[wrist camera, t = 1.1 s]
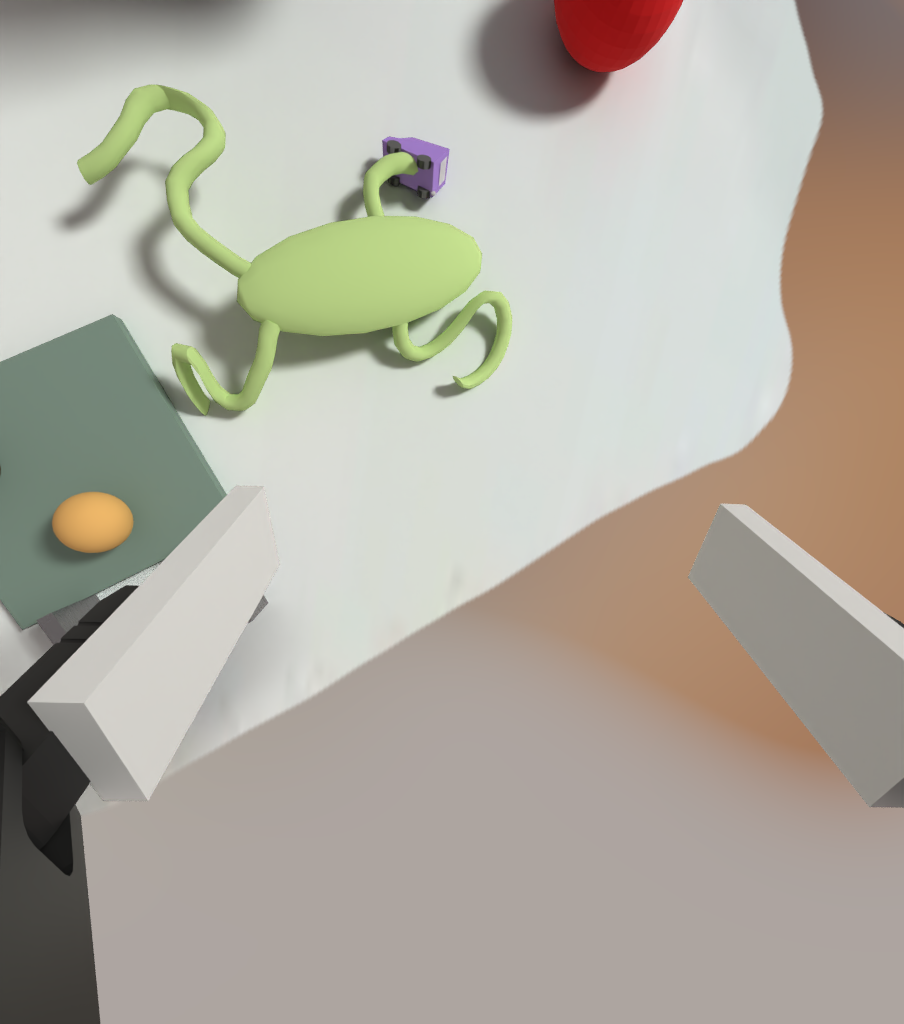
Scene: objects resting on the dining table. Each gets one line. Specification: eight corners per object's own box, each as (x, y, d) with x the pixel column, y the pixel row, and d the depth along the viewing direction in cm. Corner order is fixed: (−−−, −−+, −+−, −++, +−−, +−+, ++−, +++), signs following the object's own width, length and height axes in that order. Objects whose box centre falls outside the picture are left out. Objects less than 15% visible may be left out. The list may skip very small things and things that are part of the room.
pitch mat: (-114, 420, 27) (-133, 418, 26) (121, 319, 29) (112, 314, 28) (34, 624, 29) (22, 629, 28) (242, 520, 31) (237, 522, 30)
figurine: (109, 147, 28) (42, 67, 22) (487, 147, 32) (509, 80, 26) (163, 420, 30) (114, 409, 24) (511, 388, 34) (536, 372, 29)
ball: (69, 506, 28) (19, 512, 24) (125, 480, 29) (84, 481, 25) (103, 557, 29) (59, 570, 25) (157, 530, 29) (122, 539, 25)
